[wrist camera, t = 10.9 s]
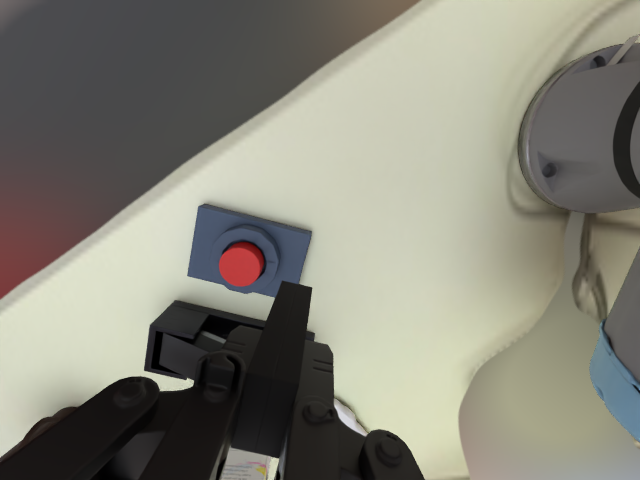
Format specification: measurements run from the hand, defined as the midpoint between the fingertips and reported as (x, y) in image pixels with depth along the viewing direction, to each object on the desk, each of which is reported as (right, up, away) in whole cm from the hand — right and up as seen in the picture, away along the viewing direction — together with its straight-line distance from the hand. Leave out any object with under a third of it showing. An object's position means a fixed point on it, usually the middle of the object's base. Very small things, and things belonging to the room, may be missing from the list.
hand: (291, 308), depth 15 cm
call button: (-6, +1, +17) cm, 18 cm away
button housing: (-6, +2, +20) cm, 21 cm away
